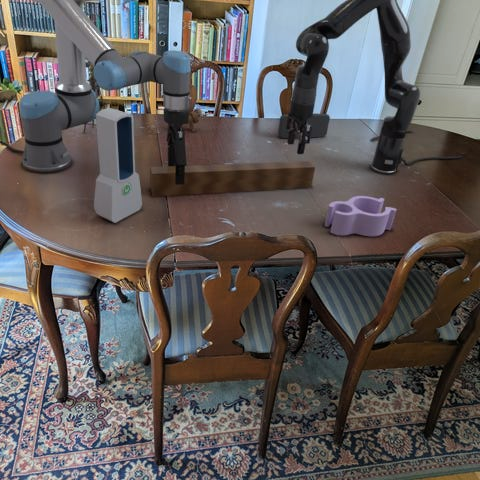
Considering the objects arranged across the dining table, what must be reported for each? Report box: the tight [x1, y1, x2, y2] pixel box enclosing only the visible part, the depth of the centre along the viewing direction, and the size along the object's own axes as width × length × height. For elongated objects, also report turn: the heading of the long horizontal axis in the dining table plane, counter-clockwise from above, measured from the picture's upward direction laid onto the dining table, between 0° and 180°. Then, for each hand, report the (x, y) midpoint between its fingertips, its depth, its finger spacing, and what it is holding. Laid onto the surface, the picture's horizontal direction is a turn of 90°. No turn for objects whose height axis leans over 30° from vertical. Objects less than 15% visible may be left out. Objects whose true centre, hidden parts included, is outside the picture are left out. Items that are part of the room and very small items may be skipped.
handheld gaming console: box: [277, 113, 331, 139], centre depth 203 cm, size 23×3×10 cm, turn 108°
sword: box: [371, 131, 411, 142], centre depth 217 cm, size 31×3×1 cm, turn 126°
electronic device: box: [93, 107, 143, 224], centre depth 129 cm, size 12×8×30 cm, turn 148°
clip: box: [324, 195, 398, 237], centre depth 141 cm, size 20×12×7 cm, turn 109°
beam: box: [149, 160, 316, 198], centre depth 155 cm, size 55×5×8 cm, turn 107°
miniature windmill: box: [83, 61, 107, 133], centre depth 181 cm, size 9×8×30 cm
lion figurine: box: [185, 107, 203, 132], centre depth 197 cm, size 15×5×9 cm, turn 110°
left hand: (175, 174), depth 148 cm, fingers open, 13 cm apart
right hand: (295, 148), depth 155 cm, fingers open, 8 cm apart
